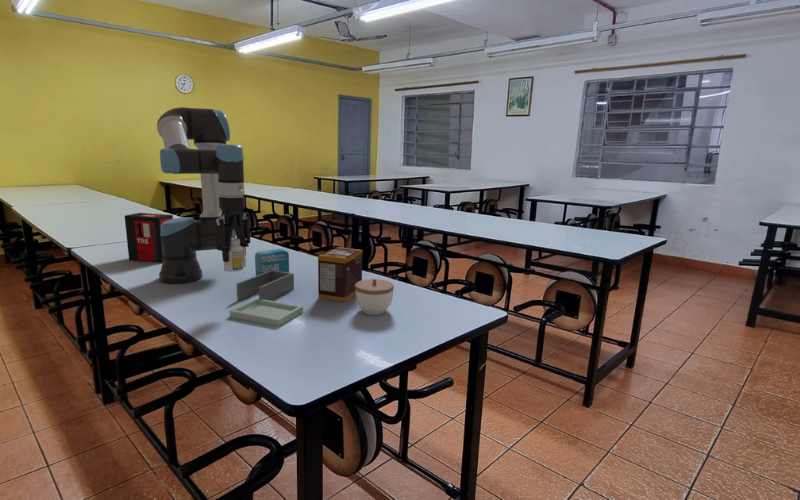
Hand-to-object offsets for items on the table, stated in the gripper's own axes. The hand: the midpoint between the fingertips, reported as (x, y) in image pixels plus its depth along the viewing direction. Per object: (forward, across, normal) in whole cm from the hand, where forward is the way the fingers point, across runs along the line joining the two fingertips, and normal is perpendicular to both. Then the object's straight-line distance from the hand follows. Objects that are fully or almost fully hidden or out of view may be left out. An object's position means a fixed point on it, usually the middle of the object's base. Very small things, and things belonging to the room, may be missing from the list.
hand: (235, 268), depth 143 cm
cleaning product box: (+15, +33, +74) cm, 82 cm away
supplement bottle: (+1, 0, 0) cm, 1 cm away
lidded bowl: (+13, +17, -42) cm, 47 cm away
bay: (+14, +16, 0) cm, 21 cm away
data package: (+14, +30, +8) cm, 34 cm away
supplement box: (+14, +28, -23) cm, 39 cm away
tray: (+13, -1, -12) cm, 18 cm away
